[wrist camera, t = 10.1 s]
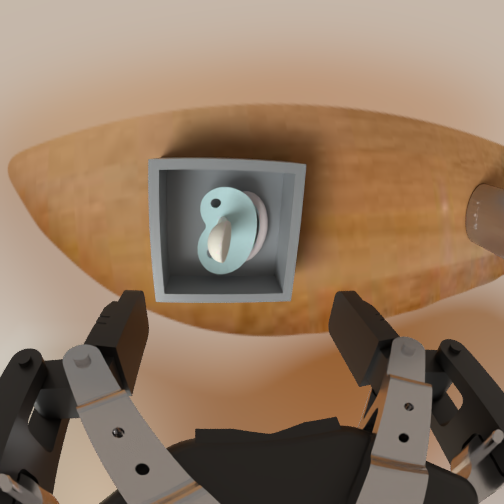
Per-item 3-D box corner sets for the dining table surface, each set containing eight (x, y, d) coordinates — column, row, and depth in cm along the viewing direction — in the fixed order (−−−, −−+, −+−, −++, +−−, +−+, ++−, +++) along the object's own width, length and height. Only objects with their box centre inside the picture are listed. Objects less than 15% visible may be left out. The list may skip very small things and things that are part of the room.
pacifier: (271, 187, 24) (202, 181, 22) (293, 201, 18) (201, 193, 17) (260, 265, 26) (196, 262, 25) (277, 298, 20) (195, 296, 19)
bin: (290, 161, 24) (306, 164, 20) (279, 278, 28) (290, 301, 24) (160, 157, 22) (148, 159, 18) (163, 278, 26) (156, 301, 22)
